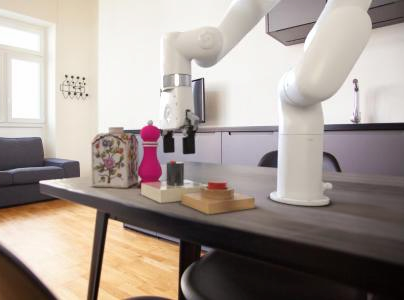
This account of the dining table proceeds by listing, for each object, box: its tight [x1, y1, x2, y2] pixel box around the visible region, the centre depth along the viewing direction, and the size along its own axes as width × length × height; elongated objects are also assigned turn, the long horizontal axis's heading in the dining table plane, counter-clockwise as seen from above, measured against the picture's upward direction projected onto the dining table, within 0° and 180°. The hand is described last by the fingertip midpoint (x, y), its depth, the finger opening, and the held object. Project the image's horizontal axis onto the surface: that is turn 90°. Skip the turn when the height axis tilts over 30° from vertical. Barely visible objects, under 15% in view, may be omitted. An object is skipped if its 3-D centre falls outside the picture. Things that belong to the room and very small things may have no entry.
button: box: [207, 179, 228, 190], centre depth 64 cm, size 4×4×2 cm
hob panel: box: [140, 179, 207, 204], centre depth 74 cm, size 14×11×3 cm
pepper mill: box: [138, 119, 163, 188], centre depth 87 cm, size 7×7×20 cm
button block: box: [181, 184, 255, 215], centre depth 64 cm, size 12×10×4 cm
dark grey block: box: [166, 160, 185, 186], centre depth 74 cm, size 4×4×6 cm
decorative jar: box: [90, 126, 140, 189], centre depth 91 cm, size 12×12×18 cm
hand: (178, 153), depth 74 cm, fingers open, 9 cm apart
